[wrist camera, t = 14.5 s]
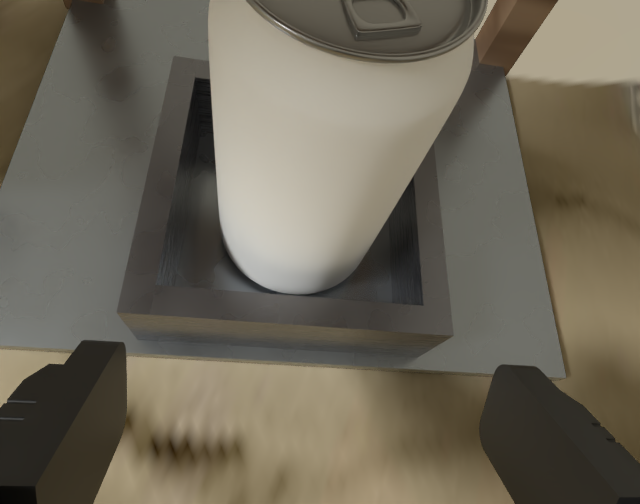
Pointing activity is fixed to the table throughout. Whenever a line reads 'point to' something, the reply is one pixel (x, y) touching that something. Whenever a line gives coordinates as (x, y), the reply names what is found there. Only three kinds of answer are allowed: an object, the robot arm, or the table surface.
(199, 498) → the table surface
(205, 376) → the table surface
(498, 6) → the wooden arch stand
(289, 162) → the can
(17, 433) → the robot arm
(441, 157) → the socket
